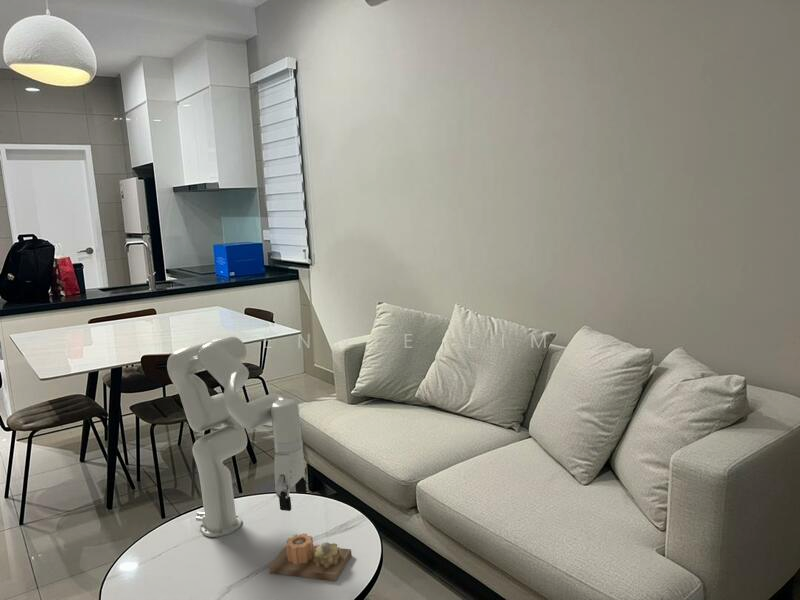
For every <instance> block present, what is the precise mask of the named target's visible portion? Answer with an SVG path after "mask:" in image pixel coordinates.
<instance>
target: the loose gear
mask: <svg viewBox="0 0 800 600" xmlns="http://www.w3.org/2000/svg"><path fill="white" fill-rule="evenodd" d="M298 540H303V541H304V543H302V544H298V545H297V544H295V542H296V541H298ZM313 541H314V540H313V536H312V535H308V533H305V532H304V533H301V534H292V537H288V538H287V539H286V544H285V546H286V548H287V557H288V561H289V562H293V564H296V565H297V564H300V563H303V564H304V563H307V561H308V560H310V559H313V550H314V549H313V545H314V543H313Z"/></svg>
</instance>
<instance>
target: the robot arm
mask: <svg viewBox="0 0 800 600" xmlns="http://www.w3.org/2000/svg"><path fill="white" fill-rule="evenodd" d="M244 343H245V342H244V341H242V339H240V338H238V337H236V336H227V337H224V338H220V339H213V340H210V341H206V342H201V343H198V344H193V345H190V346H186V347H183V348H180V349H177V350H175V351H174V352H173V353H172V354H170V355H169V356H168V359H167V362H166V363H167V364H166V369H167V373H168V377H169V379H170V380H171V382H172V384H173V386H174V387H175V389H176V390H177V392H178V394H179V397H180V401H181V404H182V407H183V410H184V413H185V416H186V419H187V422H188V425H189V427H190V429H192V431H194V432H197V433H200V432H204V431H208V430H210V429H212V428H215V427H217V426H220V425H221V428H220V429H217V430H214V431H212V432H209V433H206V434H204V435H202V436H201V437H199V438H198V439H196V440H195V442H194V443H193V444H192V451H191V452H192V455H193V458H194V462H195V464H196V467H197V471H198V476H199V483H200V484H199V485H200V491H201V497H202V505H203V511H197V513H196V517H195V521H196V522H202V525H201V533H202V534H203V535H204V536H206V537H209V538H220V537H224V536H227V535H230V534H232V533H234V532H236V531H237V530H239V528H241V526H242V524H243V520H242V518H241V516H240V515H238V514H236V513H237V512H236V506H235V505H236V504H235V498H234V489H233V488H234V487H233V478H232V474H231V471H230V469H229V467H227V466H226V465H224V463H223V462H224V461H225V460H227V459H229V458H231V457H234V456H235V455H237V454H240V453H241V452H243V451H244V450H246V448H247V446H248V436H247V433H246V430H255V429H257V428H260V427H262V426H265V425H267V424H270V423H271V424H272V433H273V434H272V436H273V444H274V446H273V447H274V451H275V454H274V463H273V464H274V466H273V467H274V468H273V470H274V484H275V486H274V491H275V493H276V496H277V498H278V502H279V510H281V511H286V512H290V511H292V501H291V499H292V498H291V496H290V492H291V488H293V487H294V486H295V493H297V494H306V493H307V492H308V491H307V481H306V479H307V475H306V472H307V460H305V458H304V452H303V442H302V441H303V440H302V429H301V419H300V411H299V410H300V407H299V404H298V402H297V401H296V400H295V399H291V398H286V397H284V396H283V395H281V394H278V393H276V392H275V393H274V392H273V393H269V394H266V395H263V396H261V397H258V398H256V399H253V400H251V401H248V402H247V401H245V400H244V399H243V398H242V397H241V396H240V395H239V394H238V392H239V391H240V389H242V388H243V387H244V385H245V384H246V383H247V381H248V378H249V375H250V372H249V369H248V368H247V367H246V366H245V365H244V363H242V362H243V361H244V360H245V358H246V357H247V348H246V345H245V344H244ZM203 371H207V372H208V373H209V374H210V375H211V376H212V377H213V378H214V379H215V380H216V381H217V383H219V384H220V385H221V386H222V387H223V389H224V390H223V393H218V394H215V395H210V393H209V391H208V386H207V384H206V383H205V381H204V380H202V378H200V377H199V376H198V375H197V373H199V372H203ZM284 489H286V491H283V490H284ZM307 494H308V493H307Z"/></svg>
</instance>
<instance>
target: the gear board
mask: <svg viewBox="0 0 800 600" xmlns="http://www.w3.org/2000/svg"><path fill="white" fill-rule="evenodd" d="M302 543H304V541H303V540H298V541H296V542H295V544H297V545H298V544H302ZM313 549H314V550H313V559H310V560H308V561H307V563H304V564H303V563H300V564H297V565H296V564H293V562H289V561H288V557H287V548H286V545H285V546H284V547H283V549H282V550H281V551H280V552H279V554H278V555H277V556H276V557H275V559H274V560H273V561H272V562H271V563H270V565H269V566H268V569H269V574H274V575H282V576H288V577H289V576H290V577H296V578H297V577H299V578H305V579H307V578H308V579H315V580H322V581H329V582H330V581H332V582H337V580H338V579H339V578H340V576H341V574H342V572H343V571H344V569H345V567H346V566H347V565H348V562H349V561H350V559H351V558H352V556H353V555H352V549H351V548H341V547H340V546H339V547H338V544H337V543H335V542H334V543H330V542H323V543H321V544H320V545H319V544H317V545H314V544H313Z"/></svg>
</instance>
